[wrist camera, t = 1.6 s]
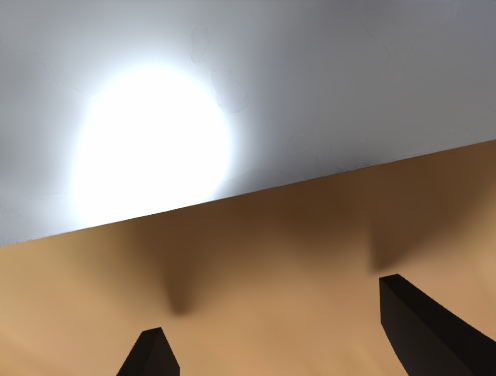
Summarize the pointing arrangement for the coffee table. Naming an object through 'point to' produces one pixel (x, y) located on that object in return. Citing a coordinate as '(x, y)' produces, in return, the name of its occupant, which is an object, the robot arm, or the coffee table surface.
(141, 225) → the coffee table surface
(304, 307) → the coffee table surface
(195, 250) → the coffee table surface
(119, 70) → the grey piece
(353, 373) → the coffee table surface
